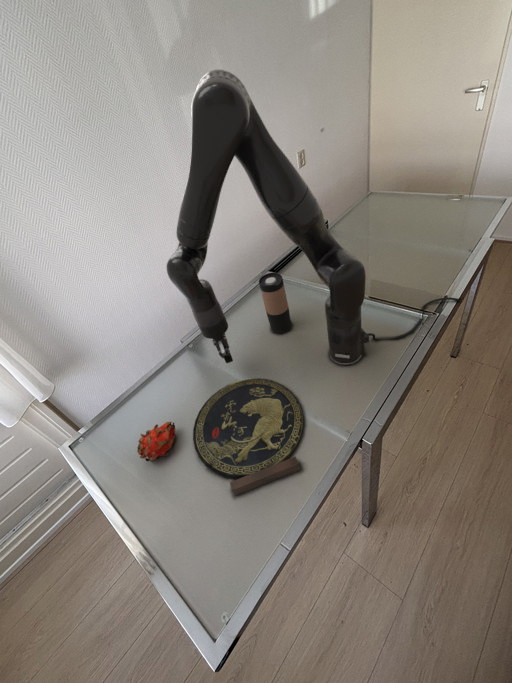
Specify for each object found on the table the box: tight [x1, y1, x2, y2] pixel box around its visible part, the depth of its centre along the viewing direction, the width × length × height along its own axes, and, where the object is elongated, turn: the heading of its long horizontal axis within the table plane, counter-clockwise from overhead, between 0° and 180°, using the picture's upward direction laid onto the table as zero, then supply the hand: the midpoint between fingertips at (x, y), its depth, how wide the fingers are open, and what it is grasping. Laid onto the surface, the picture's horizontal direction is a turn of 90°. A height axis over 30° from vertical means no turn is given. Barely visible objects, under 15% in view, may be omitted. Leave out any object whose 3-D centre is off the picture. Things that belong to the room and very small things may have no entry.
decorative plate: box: [192, 377, 304, 480], centre depth 85 cm, size 30×2×30 cm
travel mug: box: [258, 272, 292, 335], centre depth 105 cm, size 8×8×20 cm
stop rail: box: [229, 456, 301, 496], centre depth 73 cm, size 16×2×3 cm, turn 106°
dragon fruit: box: [136, 421, 177, 462], centre depth 84 cm, size 8×8×12 cm
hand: (229, 360), depth 96 cm, fingers closed
